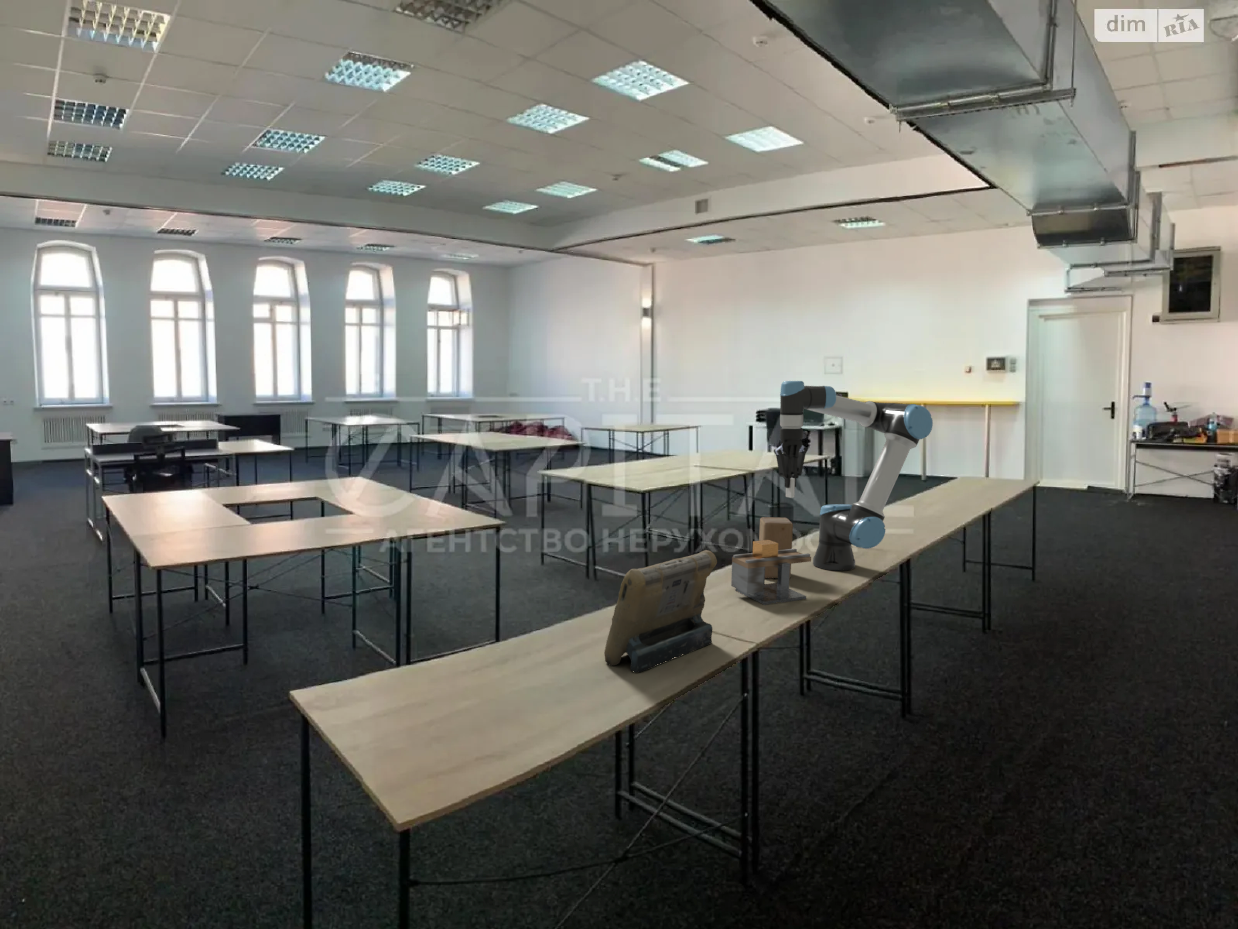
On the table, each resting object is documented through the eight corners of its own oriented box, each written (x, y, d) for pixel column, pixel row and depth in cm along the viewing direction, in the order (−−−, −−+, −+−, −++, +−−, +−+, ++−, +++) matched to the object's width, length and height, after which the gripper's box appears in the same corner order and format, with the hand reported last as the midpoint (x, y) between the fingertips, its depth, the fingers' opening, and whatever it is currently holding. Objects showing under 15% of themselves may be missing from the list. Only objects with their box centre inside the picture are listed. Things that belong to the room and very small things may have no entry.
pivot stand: (776, 585, 254) (777, 550, 253) (806, 599, 240) (807, 562, 238) (735, 590, 248) (736, 554, 246) (763, 604, 233) (765, 566, 232)
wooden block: (791, 579, 262) (793, 522, 259) (762, 579, 262) (764, 522, 260) (785, 571, 272) (787, 517, 269) (757, 571, 272) (759, 516, 269)
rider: (768, 555, 245) (768, 539, 244) (777, 558, 240) (778, 543, 239) (752, 556, 242) (753, 541, 242) (761, 560, 237) (762, 544, 237)
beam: (792, 578, 252) (793, 548, 251) (809, 585, 244) (811, 554, 243) (731, 586, 243) (732, 554, 241) (747, 593, 234) (748, 561, 233)
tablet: (675, 629, 210) (678, 541, 207) (718, 641, 201) (721, 549, 198) (599, 664, 185) (600, 564, 182) (644, 679, 176) (647, 574, 173)
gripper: (799, 425, 258) (797, 493, 262) (768, 427, 252) (767, 497, 256) (814, 427, 252) (812, 497, 255) (783, 429, 246) (781, 500, 249)
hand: (790, 497), depth 255 cm, fingers closed
